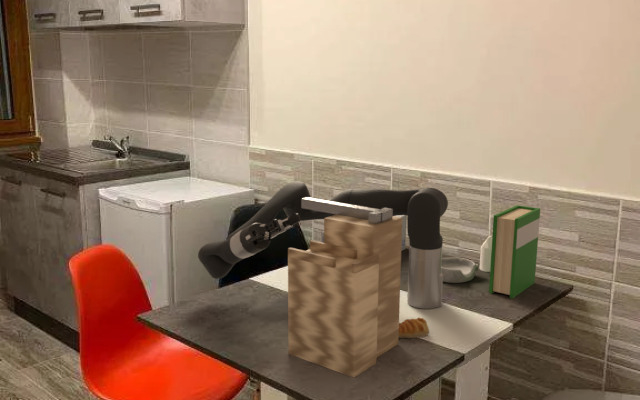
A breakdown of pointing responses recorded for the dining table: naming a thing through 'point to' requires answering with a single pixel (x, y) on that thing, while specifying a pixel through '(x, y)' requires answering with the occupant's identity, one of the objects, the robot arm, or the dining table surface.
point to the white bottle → (486, 255)
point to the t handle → (348, 210)
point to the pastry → (413, 328)
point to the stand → (346, 294)
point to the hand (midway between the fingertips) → (288, 219)
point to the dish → (458, 270)
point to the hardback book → (514, 250)
